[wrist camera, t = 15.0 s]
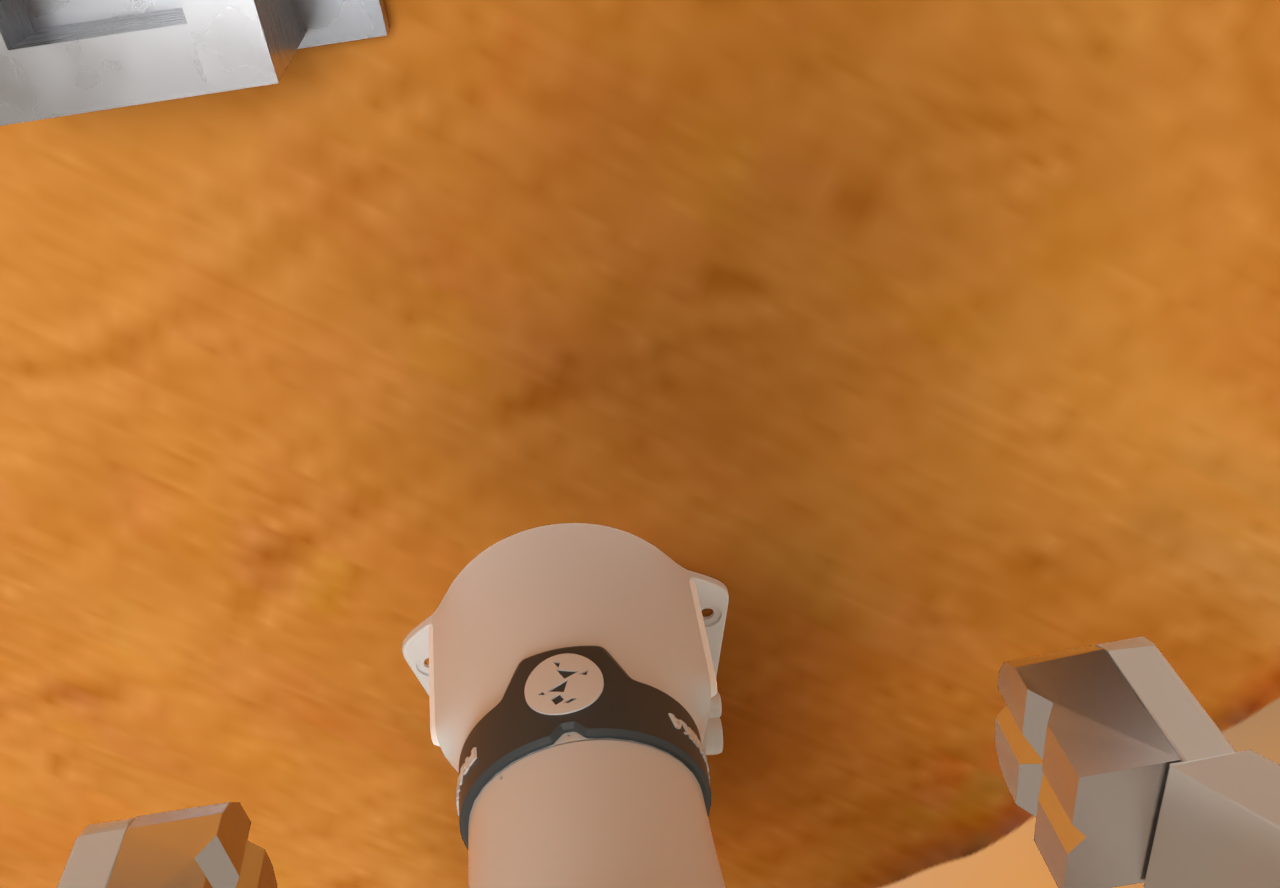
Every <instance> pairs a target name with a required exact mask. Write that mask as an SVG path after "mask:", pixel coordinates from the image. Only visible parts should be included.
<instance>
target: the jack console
mask: <svg viewBox="0 0 1280 888" xmlns="http://www.w3.org/2000/svg"><path fill="white" fill-rule="evenodd" d="M389 27H390V26H389V22H388V17H387V13H386V9H385V5H384V0H0V126H2V125H8V124H15V123H21V122H28V121H34V120H41V119H47V118H54V117H60V116H67V115H73V114H80V113H87V112H93V111H100V110H106V109H113V108H119V107H126V106H132V105H139V104H145V103H152V102H158V101H165V100H172V99H178V98H185V97H191V96H198V95H204V94H211V93H217V92H224V91H230V90H237V89H243V88H250V87H257V86H263V85H270V84H276V83H279V81H280V80H281V78H282V76H283V74H284V72H285V70H286V69H287V67H288V65H289V63H290V61H291V60H292V58H293V56H294V54H295V52H296V50H297V49H301V48H307V47H314V46H320V45H327V44H334V43H340V42H347V41H353V40H360V39H367V38H373V37H380V36H386V35H387V34H388V31H389Z"/></svg>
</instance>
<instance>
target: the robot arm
mask: <svg viewBox="0 0 1280 888" xmlns="http://www.w3.org/2000/svg"><path fill="white" fill-rule="evenodd" d="M728 603H729V594H728V589H727V587H726V586H725V585H724V584H723V583H722V582H720V581H718V580H716V579H714V578H711V577H709V576H706V575H703V574H700V573H696V572H693V571H690V570H686V569H685V568H683V567H681V566H680V565H678V564H677V563H676V562H674V561H673V560H672V559H671V558H670V557H668V556H667V555H666V554H665V553H663V552H662V551H661V550H659V549H658V548H657V547H655V546H654V545H652V544H650V543H649V542H647V541H645V540H643V539H641V538H639V537H637V536H635V535H633V534H630V533H628V532H625V531H622V530H619V529H616V528H612V527H608V526H603V525H596V524H587V523H562V524H553V525H546V526H541V527H536V528H532V529H529V530H525V531H522V532H519V533H517V534H514V535H512V536H509V537H507V538H505V539H503V540H501V541H499V542H497V543H495V544H494V545H492V546H490V547H489V548H487V549H486V550H484V551H483V552H481V553H480V554H479V555H478V556H476V557H475V558H474V559H473V560H472V561H471V562H470V563H469V564H468V565H467V566H466V567H465V568H464V569H463V570H462V571H461V572H460V573H459V575H458V576H457V577H456V578H455V580H454V581H453V583H452V584H451V586H450V587H449V589H448V591H447V593H446V594H445V596H444V598H443V600H442V602H441V603H440V605H439V606H438V608H437V609H436V610H435V612H434V613H433V614H432V615H431V616H430V617H428V618H427V619H426V620H424V621H423V622H422V623H421V624H419V625H418V626H417V627H415V628H414V629H413V630H412V631H411V632H410V633H409V634H408V635H407V636H406V637H405V639H404V640H403V643H402V653H403V656H404V658H405V660H406V661H407V663H408V664H409V666H410V668H411V669H412V671H413V672H414V674H415V675H416V677H417V678H418V680H419V681H420V683H421V685H422V686H423V688H424V689H425V691H426V692H427V694H428V695H429V698H430V732H431V738H432V742H433V744H434V745H436V746H439V747H441V750H442V752H443V754H444V755H445V757H446V759H447V760H448V761H449V762H450V764H451V765H452V766H453V767H454V768H455V770H456V771H457V772H458V773H459V776H458V780H457V787H456V801H457V810H458V816H459V822H460V832H461V836H462V839H463V841H464V843H465V845H466V847H467V850H468V888H726V886H725V883H724V879H723V875H722V872H721V868H720V865H719V861H718V857H717V853H716V849H715V845H714V841H713V837H712V833H711V828H710V824H709V820H708V816H709V811H710V807H711V789H710V775H709V772H710V771H709V766H708V761H707V756H706V755H718V754H719V753H722V751H723V730H722V723H721V719H720V717H721V714H722V703H721V697H720V694H719V692H717V681H716V676H717V670H718V664H719V658H720V652H721V646H722V640H723V634H724V627H725V621H726V615H727V609H728ZM707 608H709V609H712V610H713V613H712V614H711V615H709V616H707V617H703V616H702V610H703V609H707ZM427 658H429V665H427V664H426V663H425V662H424V661H425V660H426V659H427ZM998 690H999V691H1000V693H1001V695H1002V697H1003V699H1004V701H1005V703H1006V706H1005V707H1004V708H1003V709H1002V710H1001V711H1000V713H999V714H998V715H997V716H996V717H995V744H996V750H997V755H998V761H999V765H1000V768H1001V771H1002V774H1003V777H1004V779H1005V782H1006V785H1007V787H1008V789H1009V791H1010V793H1011V795H1012V797H1013V799H1014V801H1015V803H1016V805H1018V806H1019V807H1021V808H1023V809H1024V810H1026V811H1027V812H1029V813H1030V814H1032V815H1033V816H1035V817H1036V825H1035V835H1034V841H1035V843H1036V845H1037V847H1038V849H1039V851H1040V853H1041V855H1042V856H1043V859H1044V861H1045V863H1046V865H1047V866H1048V868H1049V870H1050V872H1051V874H1052V876H1053V878H1054V880H1055V882H1056V884H1057V886H1058V888H1111V887H1117V886H1124V885H1130V884H1136V883H1142V882H1145V883H1144V887H1145V888H1280V765H1279V764H1277V763H1275V762H1274V761H1272V760H1270V759H1268V758H1266V757H1264V756H1262V755H1260V754H1258V753H1256V752H1254V751H1252V750H1245V751H1238V752H1236V750H1235V749H1234V748H1233V747H1232V746H1231V744H1230V743H1229V741H1228V740H1227V739H1226V737H1225V736H1224V735H1223V733H1222V732H1221V731H1220V729H1219V728H1218V727H1217V726H1216V724H1215V723H1214V722H1213V720H1212V719H1211V718H1210V716H1209V715H1208V714H1207V712H1206V711H1205V710H1204V709H1203V707H1202V706H1201V705H1200V703H1199V702H1198V701H1197V699H1196V698H1195V697H1194V695H1193V694H1192V693H1191V691H1190V690H1189V689H1188V688H1187V686H1186V685H1185V684H1184V682H1183V681H1182V680H1181V678H1180V677H1179V676H1178V674H1177V673H1176V672H1175V671H1174V669H1173V668H1172V667H1171V665H1170V664H1169V663H1168V661H1167V660H1166V659H1165V657H1164V656H1163V655H1162V654H1161V652H1160V651H1159V650H1158V648H1157V647H1156V646H1155V644H1154V643H1153V642H1152V641H1150V640H1148V639H1147V638H1145V637H1143V636H1141V637H1136V638H1130V639H1125V640H1120V641H1114V642H1109V643H1103V644H1098V645H1096V646H1091V645H1090V646H1085V647H1079V648H1074V649H1069V650H1064V651H1059V652H1053V653H1048V654H1043V655H1038V656H1032V657H1027V658H1022V659H1017V660H1012V661H1006V662H1004V663H1003V665H1002V667H1001V669H1000V670H999V679H998ZM250 825H251V821H250V820H249V818H248V816H247V814H246V813H245V811H244V809H243V807H242V806H241V804H240V802H228V803H222V804H215V805H209V806H202V807H196V808H189V809H183V810H176V811H170V812H163V813H157V814H150V815H144V816H137V817H134V818H128V819H122V820H116V821H109V822H103V823H97V824H91V825H88V826H87V827H86V828H85V829H84V831H83V832H82V833H81V834H80V835H79V836H78V837H77V839H76V840H75V843H74V845H73V848H72V850H71V853H70V856H69V858H68V861H67V863H66V866H65V868H64V871H63V873H62V876H61V879H60V881H59V884H58V886H57V888H277V882H276V878H275V874H274V870H273V866H272V863H271V861H270V859H269V857H268V855H267V853H266V851H265V849H263V848H261V847H259V846H257V845H255V844H253V843H251V842H249V841H247V839H248V835H249V830H250Z"/></svg>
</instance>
